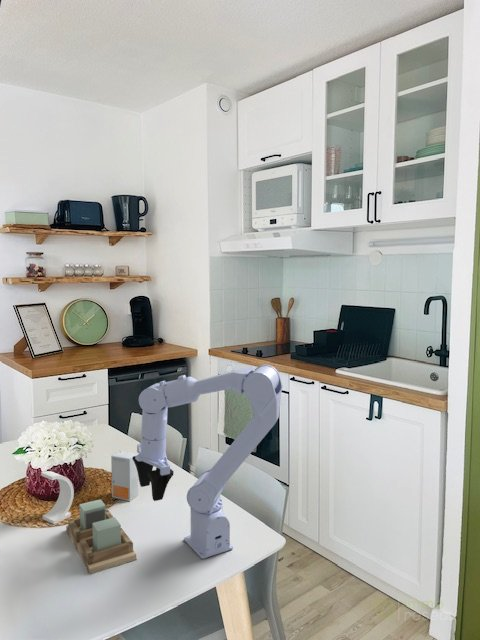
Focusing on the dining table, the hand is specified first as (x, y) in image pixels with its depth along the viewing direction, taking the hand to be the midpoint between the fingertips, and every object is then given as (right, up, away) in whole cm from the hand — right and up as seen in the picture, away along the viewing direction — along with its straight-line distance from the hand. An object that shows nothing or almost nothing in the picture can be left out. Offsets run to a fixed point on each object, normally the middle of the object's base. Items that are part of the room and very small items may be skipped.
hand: (151, 492), depth 119 cm
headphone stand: (-25, -10, +10) cm, 28 cm away
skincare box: (-11, -8, +21) cm, 25 cm away
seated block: (-14, -9, +1) cm, 16 cm away
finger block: (-8, -10, -7) cm, 15 cm away
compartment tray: (-11, -11, -3) cm, 16 cm away
